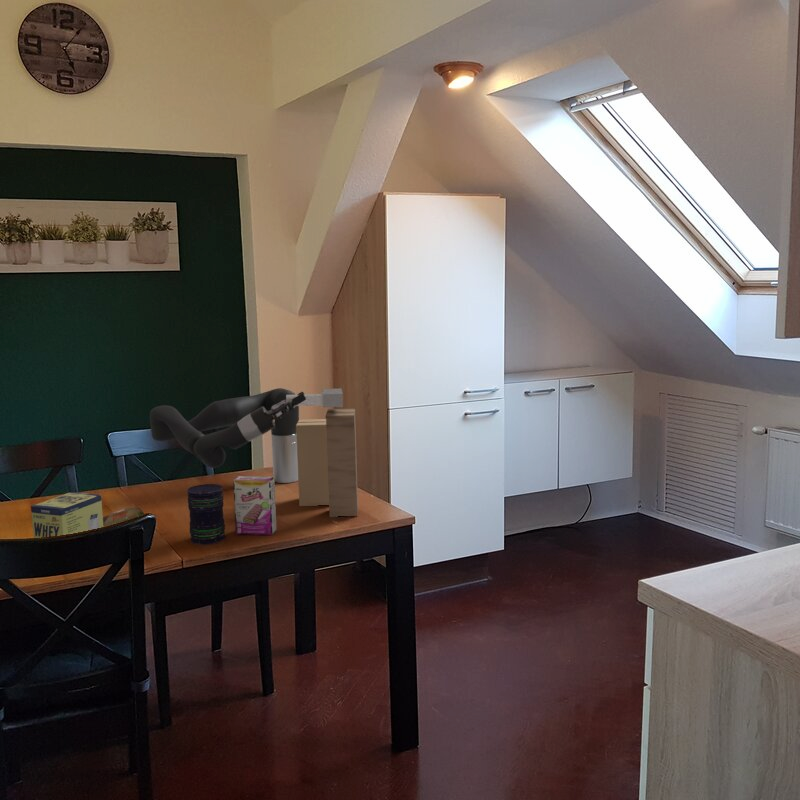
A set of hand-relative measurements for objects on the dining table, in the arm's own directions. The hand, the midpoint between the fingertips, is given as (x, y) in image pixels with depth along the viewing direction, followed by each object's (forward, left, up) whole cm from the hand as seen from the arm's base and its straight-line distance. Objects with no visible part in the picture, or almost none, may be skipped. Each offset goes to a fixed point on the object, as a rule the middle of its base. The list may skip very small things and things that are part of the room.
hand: (304, 395), depth 256 cm
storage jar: (+23, -27, -38) cm, 52 cm away
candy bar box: (+18, -14, -38) cm, 44 cm away
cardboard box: (-13, +2, -37) cm, 39 cm away
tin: (+20, -52, -38) cm, 67 cm away
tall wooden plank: (+1, +11, -37) cm, 39 cm away
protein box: (+33, -62, -38) cm, 80 cm away
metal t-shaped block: (0, +2, -3) cm, 4 cm away
